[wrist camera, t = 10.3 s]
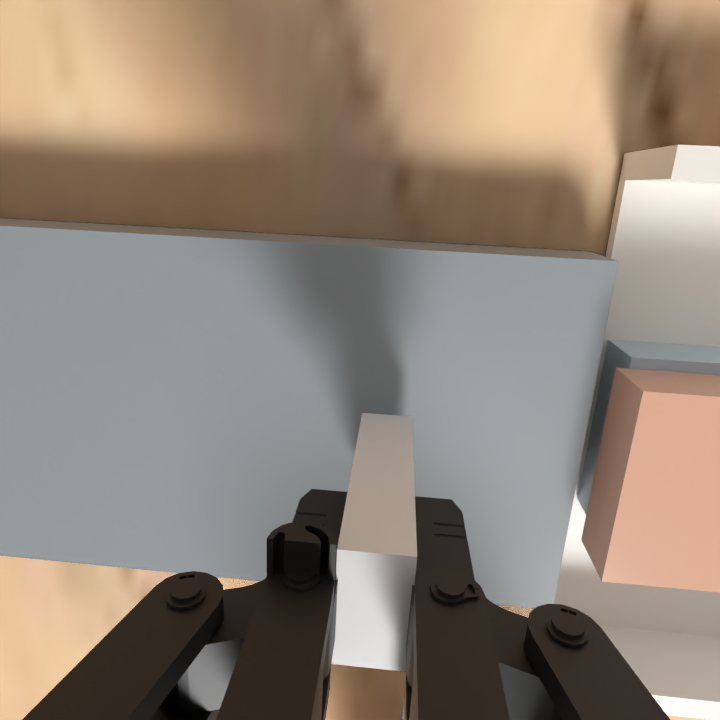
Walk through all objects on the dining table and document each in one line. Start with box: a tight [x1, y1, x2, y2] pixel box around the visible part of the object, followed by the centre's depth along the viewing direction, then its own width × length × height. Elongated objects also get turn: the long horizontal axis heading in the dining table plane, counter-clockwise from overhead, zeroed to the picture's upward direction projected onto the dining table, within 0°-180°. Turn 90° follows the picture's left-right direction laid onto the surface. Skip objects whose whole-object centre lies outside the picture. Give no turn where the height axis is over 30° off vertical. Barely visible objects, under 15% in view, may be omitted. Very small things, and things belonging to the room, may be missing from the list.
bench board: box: [0, 218, 619, 608], centre depth 19 cm, size 22×12×2 cm, turn 87°
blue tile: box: [577, 340, 720, 514], centre depth 18 cm, size 6×6×2 cm
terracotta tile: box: [581, 368, 720, 593], centre depth 16 cm, size 6×6×2 cm
